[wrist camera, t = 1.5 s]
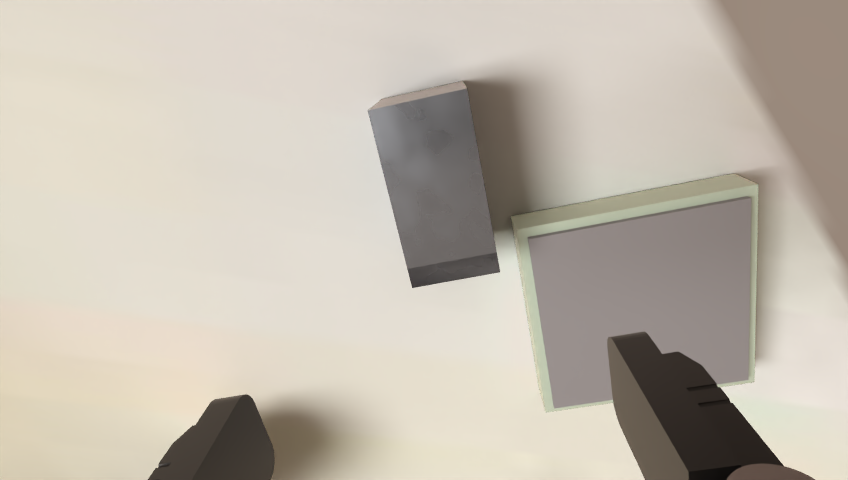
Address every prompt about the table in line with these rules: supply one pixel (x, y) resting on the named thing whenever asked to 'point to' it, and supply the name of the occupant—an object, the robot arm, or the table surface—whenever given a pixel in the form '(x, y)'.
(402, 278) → the table surface
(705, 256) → the stand
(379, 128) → the block
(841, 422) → the table surface
